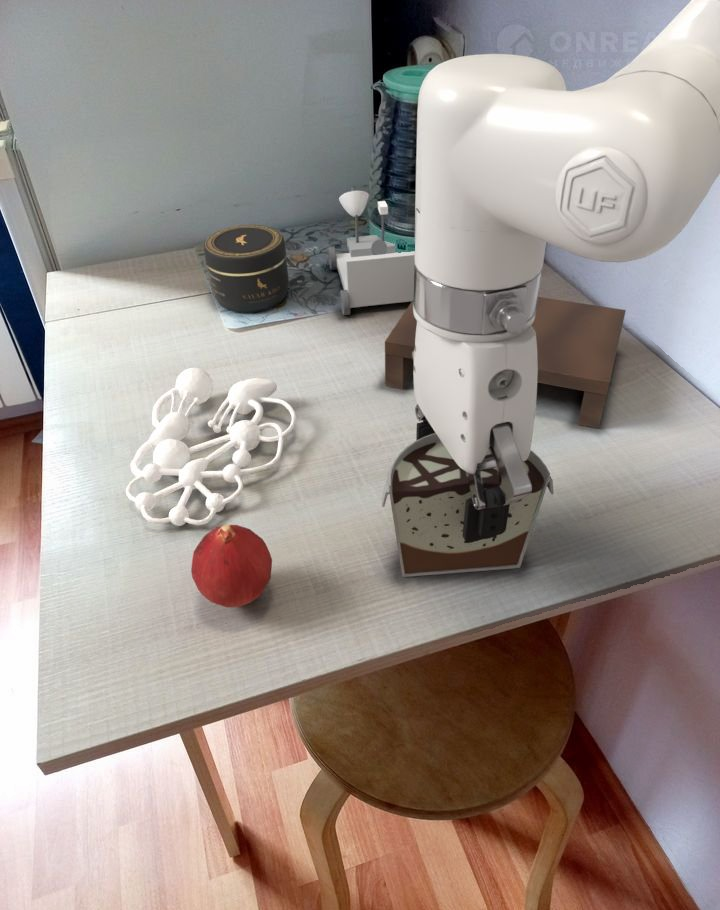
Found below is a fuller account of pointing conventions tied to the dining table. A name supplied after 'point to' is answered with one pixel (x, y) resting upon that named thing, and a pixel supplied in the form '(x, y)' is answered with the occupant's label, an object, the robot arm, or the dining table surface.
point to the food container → (454, 512)
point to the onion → (231, 566)
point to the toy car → (371, 263)
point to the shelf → (543, 350)
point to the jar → (247, 267)
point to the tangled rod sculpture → (176, 455)
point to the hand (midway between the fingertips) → (458, 494)
